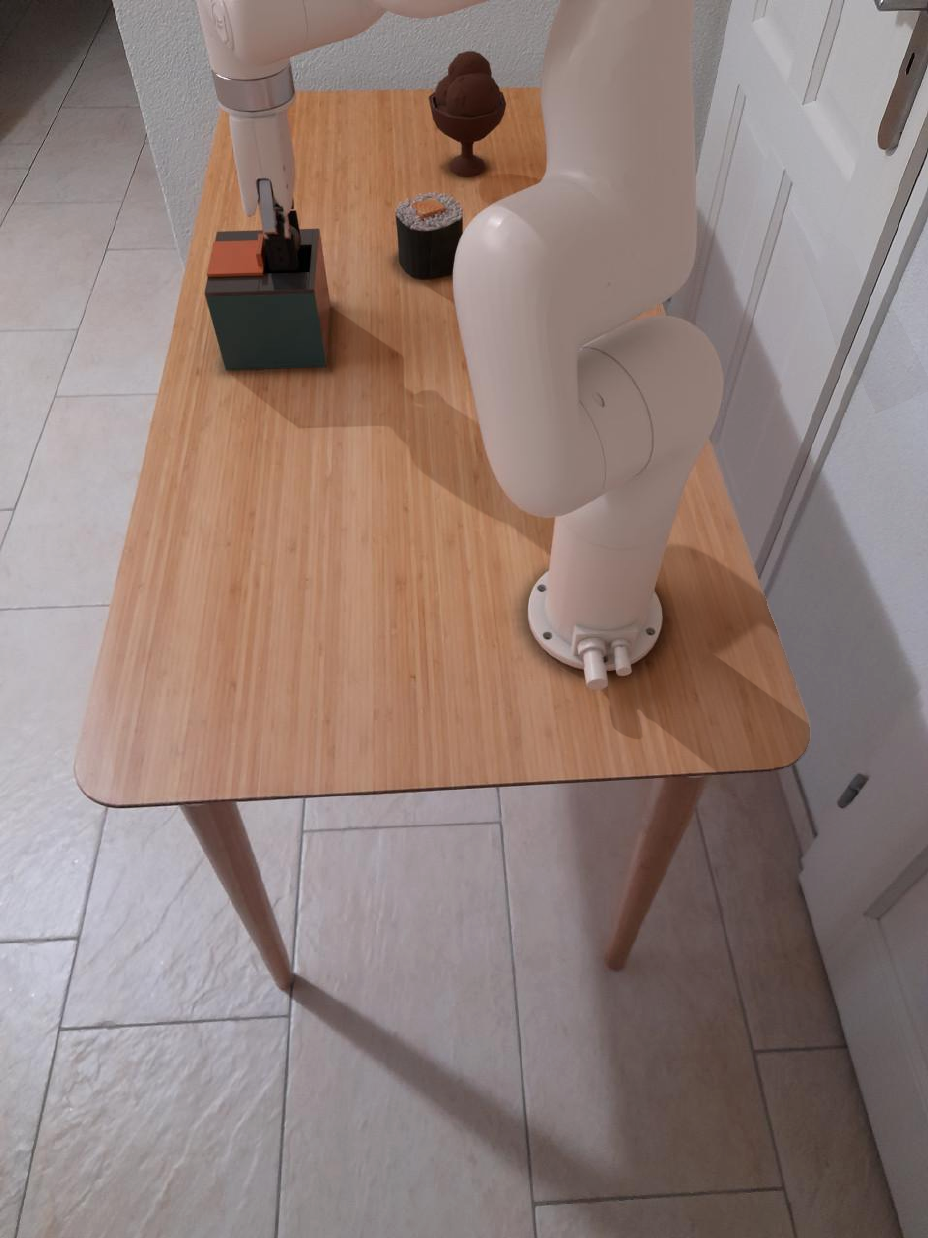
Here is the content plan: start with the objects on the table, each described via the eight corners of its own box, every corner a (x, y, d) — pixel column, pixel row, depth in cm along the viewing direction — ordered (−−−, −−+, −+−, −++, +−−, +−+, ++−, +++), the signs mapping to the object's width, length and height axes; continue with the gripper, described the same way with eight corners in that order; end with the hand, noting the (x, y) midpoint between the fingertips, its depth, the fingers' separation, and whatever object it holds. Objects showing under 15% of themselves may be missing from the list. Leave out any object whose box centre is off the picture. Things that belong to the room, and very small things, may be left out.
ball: (301, 267, 99) (296, 233, 95) (266, 268, 99) (259, 235, 95) (303, 246, 101) (298, 213, 98) (268, 247, 101) (262, 214, 98)
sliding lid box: (326, 366, 105) (314, 289, 96) (225, 370, 105) (204, 292, 96) (330, 305, 112) (319, 228, 103) (236, 308, 112) (216, 231, 103)
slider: (263, 275, 98) (259, 259, 96) (207, 277, 98) (203, 261, 96) (268, 242, 102) (264, 227, 100) (213, 244, 101) (210, 228, 100)
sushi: (472, 268, 117) (473, 210, 110) (416, 286, 114) (413, 228, 108) (444, 238, 121) (443, 180, 114) (389, 254, 118) (385, 197, 112)
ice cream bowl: (418, 158, 133) (413, 48, 121) (485, 142, 136) (487, 33, 123) (447, 192, 127) (445, 81, 115) (516, 175, 130) (521, 64, 118)
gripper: (224, 45, 90) (259, 217, 104) (204, 127, 80) (245, 302, 95) (298, 44, 90) (322, 215, 105) (287, 124, 80) (315, 300, 95)
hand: (285, 255), depth 100 cm, fingers closed on ball, 3 cm apart
